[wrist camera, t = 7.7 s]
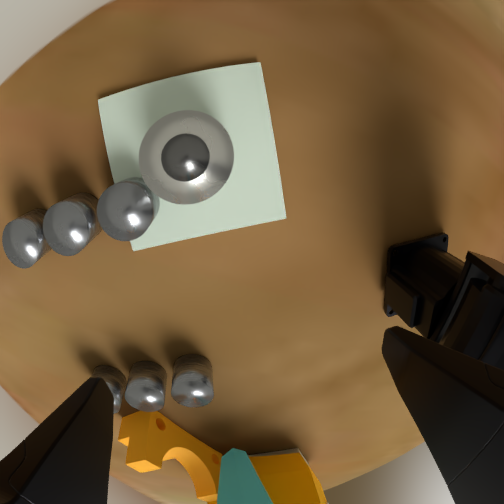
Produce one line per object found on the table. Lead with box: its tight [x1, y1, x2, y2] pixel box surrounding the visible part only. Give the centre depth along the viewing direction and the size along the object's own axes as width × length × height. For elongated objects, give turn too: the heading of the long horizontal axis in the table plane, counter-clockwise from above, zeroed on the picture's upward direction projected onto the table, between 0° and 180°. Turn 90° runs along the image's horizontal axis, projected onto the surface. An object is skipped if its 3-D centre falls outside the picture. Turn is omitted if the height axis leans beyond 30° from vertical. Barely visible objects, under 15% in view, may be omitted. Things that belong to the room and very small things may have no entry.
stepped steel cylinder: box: [139, 110, 234, 205], centre depth 14 cm, size 4×4×4 cm
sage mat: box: [98, 62, 286, 251], centre depth 16 cm, size 10×10×1 cm
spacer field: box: [2, 177, 214, 414], centre depth 18 cm, size 11×17×3 cm, turn 10°
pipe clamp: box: [118, 411, 222, 502], centre depth 23 cm, size 12×4×6 cm, turn 31°
